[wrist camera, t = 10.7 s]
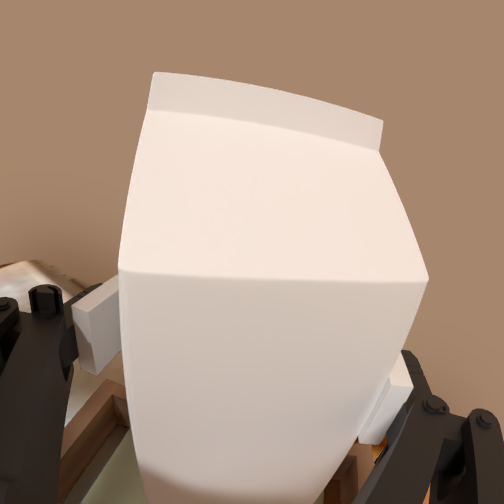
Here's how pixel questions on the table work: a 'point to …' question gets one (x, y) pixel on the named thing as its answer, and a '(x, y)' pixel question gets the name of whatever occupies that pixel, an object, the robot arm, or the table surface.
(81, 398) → the table surface
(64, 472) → the box
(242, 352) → the milk carton
